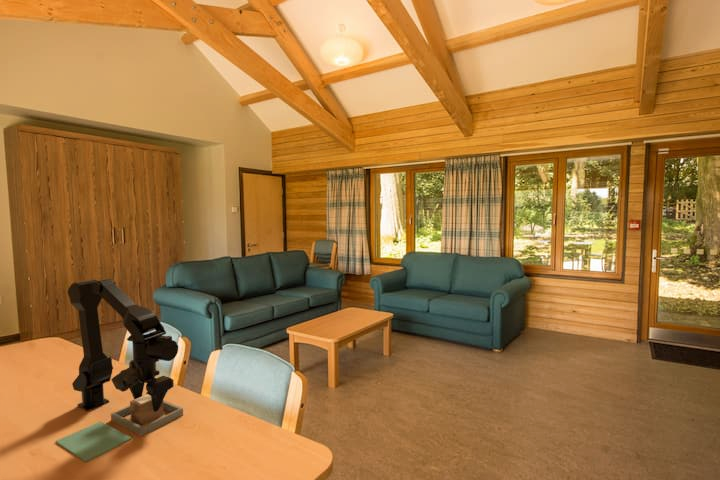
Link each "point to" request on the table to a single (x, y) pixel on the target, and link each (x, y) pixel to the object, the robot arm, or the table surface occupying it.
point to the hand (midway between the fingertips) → (146, 407)
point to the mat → (93, 441)
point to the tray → (140, 430)
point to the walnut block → (144, 410)
